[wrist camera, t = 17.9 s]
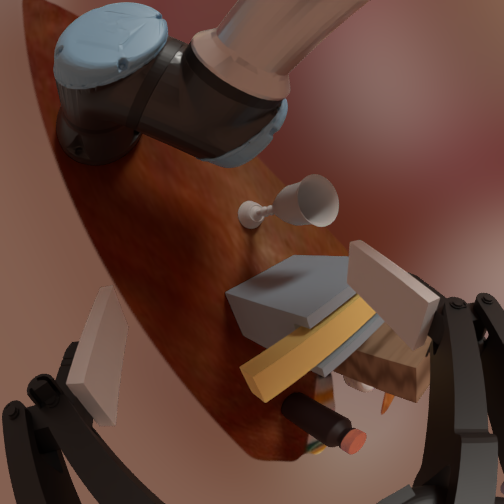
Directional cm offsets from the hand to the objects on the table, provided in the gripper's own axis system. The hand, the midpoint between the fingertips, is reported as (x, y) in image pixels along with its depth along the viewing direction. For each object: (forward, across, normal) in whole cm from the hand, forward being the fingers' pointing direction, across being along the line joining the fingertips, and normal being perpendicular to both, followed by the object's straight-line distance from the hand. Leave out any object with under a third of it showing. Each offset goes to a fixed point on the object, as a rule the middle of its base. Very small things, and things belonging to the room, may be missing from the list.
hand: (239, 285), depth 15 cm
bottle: (+22, +11, -48) cm, 54 cm away
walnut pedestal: (+30, +22, -34) cm, 51 cm away
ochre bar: (+12, +12, -16) cm, 23 cm away
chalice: (+35, +8, -8) cm, 37 cm away
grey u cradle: (+30, +10, -22) cm, 39 cm away
